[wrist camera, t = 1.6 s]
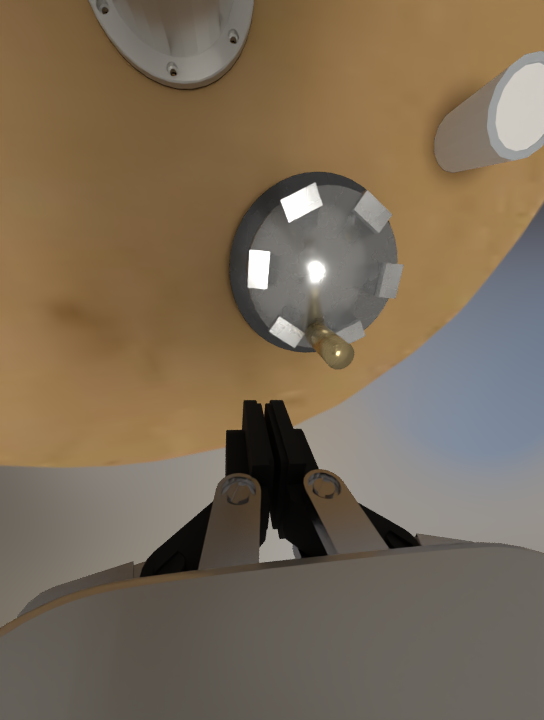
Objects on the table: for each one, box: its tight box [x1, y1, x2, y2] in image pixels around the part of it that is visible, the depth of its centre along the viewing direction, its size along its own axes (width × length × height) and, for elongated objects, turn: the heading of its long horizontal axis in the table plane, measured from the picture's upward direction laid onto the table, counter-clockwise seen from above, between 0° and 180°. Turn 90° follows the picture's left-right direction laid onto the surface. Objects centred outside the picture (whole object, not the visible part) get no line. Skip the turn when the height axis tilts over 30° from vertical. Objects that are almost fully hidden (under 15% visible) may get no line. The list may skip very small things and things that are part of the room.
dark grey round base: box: [229, 172, 390, 352], centre depth 30 cm, size 18×18×2 cm
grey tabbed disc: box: [246, 183, 404, 369], centre depth 24 cm, size 15×15×9 cm
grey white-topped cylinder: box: [434, 51, 544, 173], centre depth 25 cm, size 7×7×7 cm
